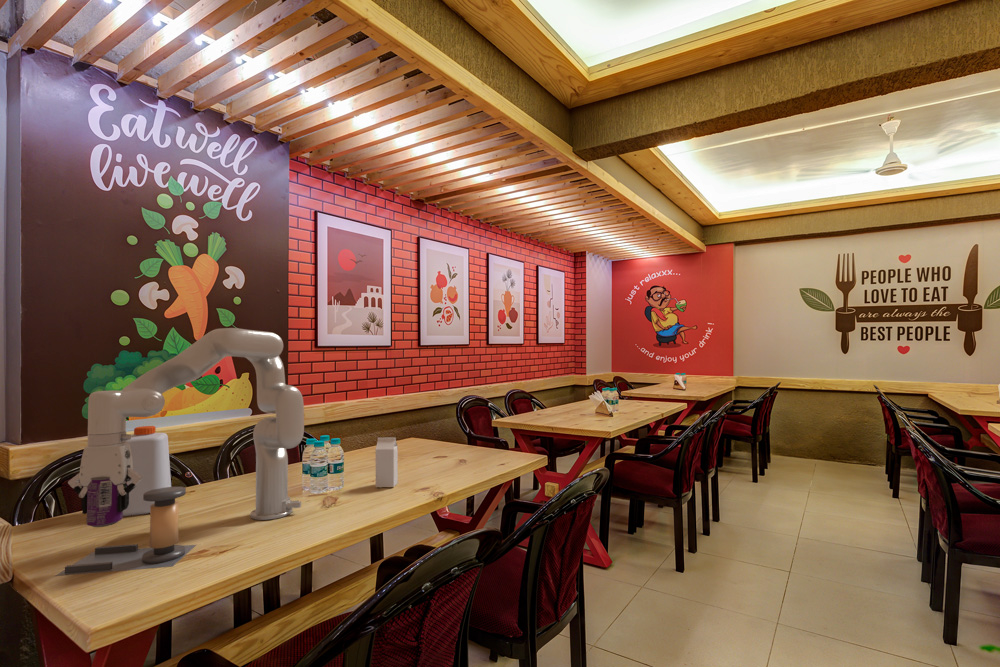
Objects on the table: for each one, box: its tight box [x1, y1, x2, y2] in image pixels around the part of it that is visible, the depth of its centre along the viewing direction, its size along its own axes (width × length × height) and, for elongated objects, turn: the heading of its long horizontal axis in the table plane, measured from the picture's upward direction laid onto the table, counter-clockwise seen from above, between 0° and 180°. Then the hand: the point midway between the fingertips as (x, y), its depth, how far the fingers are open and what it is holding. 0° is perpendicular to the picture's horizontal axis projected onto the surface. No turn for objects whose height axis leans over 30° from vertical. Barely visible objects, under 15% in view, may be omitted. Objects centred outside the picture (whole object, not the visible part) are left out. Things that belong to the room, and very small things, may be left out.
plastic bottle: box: [123, 425, 172, 517], centre depth 170 cm, size 15×15×28 cm
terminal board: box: [54, 543, 197, 577], centre depth 125 cm, size 25×14×3 cm, turn 100°
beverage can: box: [86, 477, 124, 528], centre depth 125 cm, size 7×7×12 cm
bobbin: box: [142, 486, 187, 564], centre depth 127 cm, size 9×9×16 cm
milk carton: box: [375, 436, 399, 488], centre depth 197 cm, size 7×7×19 cm
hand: (105, 510), depth 124 cm, fingers closed on beverage can, 7 cm apart
